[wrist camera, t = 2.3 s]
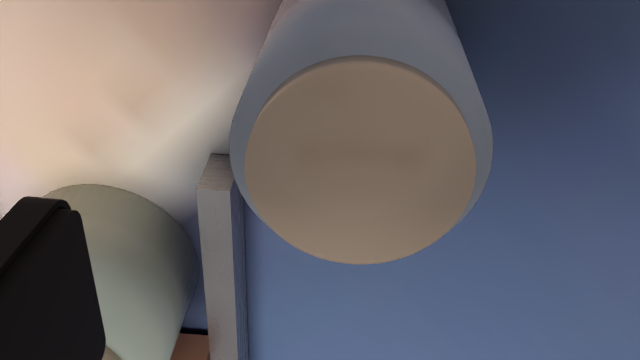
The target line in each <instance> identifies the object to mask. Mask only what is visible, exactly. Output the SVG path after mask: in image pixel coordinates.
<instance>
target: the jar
mask: <svg viewBox="0 0 640 360" xmlns="http://www.w3.org/2000/svg"><path fill="white" fill-rule="evenodd" d="M229 153H230V161H231V167H232V171H233V174H234V178H235V181H236V183H237V185H238V188H239V190H240V192H241V194H242V196H243V197H244V199H245V201H246V202H247V204H248V205H249V207H250V208H251V209H252V210H253V212H254V213H255V214H256V215H257V216H258V217H259V218H260V219H261V220H262V221H263V222H264V223H265V224H266V225H267V226H268V227H269V228H270V229H272V230H273V231H274V232H275V233H276V234H277V235H279V236H280V237H281V238H283V239H284V240H285V241H286V242H288V243H289V244H291V245H293V246H294V247H296V248H298V249H299V250H302V251H304V252H306V253H308V254H310V255H313V256H316V257H319V258H322V259H325V260H329V261H333V262H339V263H346V264H377V263H383V262H389V261H393V260H397V259H400V258H404V257H406V256H409V255H411V254H414V253H416V252H418V251H420V250H422V249H424V248H426V247H428V246H429V245H431V244H432V243H434V242H435V241H436V240H438V239H439V238H440V237H442V236H443V235H445V234H446V233H447V232H449V231H450V230H451V229H453V228H454V227H455V226H456V225H457V224H458V223H459V222H460V221H462V219H463V218H464V217H465V216H466V215H467V214H468V213H469V211H470V210H471V209H472V208H473V206H474V205H475V203H476V202H477V200H478V199H479V197H480V195H481V193H482V191H483V189H484V187H485V185H486V182H487V179H488V176H489V173H490V170H491V164H492V157H493V136H492V130H491V124H490V120H489V117H488V114H487V111H486V108H485V105H484V103H483V100H482V97H481V95H480V92H479V89H478V87H477V84H476V81H475V79H474V76H473V73H472V71H471V68H470V65H469V63H468V60H467V57H466V54H465V52H464V49H463V46H462V44H461V41H460V38H459V36H458V33H457V30H456V28H455V25H454V22H453V20H452V17H451V14H450V12H449V9H448V6H447V4H446V1H445V0H282V1H281V3H280V6H279V8H278V10H277V13H276V15H275V18H274V20H273V22H272V25H271V27H270V29H269V32H268V34H267V37H266V39H265V41H264V44H263V46H262V49H261V51H260V53H259V56H258V58H257V61H256V63H255V65H254V68H253V70H252V72H251V75H250V77H249V80H248V82H247V84H246V87H245V89H244V92H243V94H242V96H241V99H240V101H239V104H238V106H237V109H236V112H235V115H234V117H233V120H232V125H231V131H230V140H229Z"/></svg>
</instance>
